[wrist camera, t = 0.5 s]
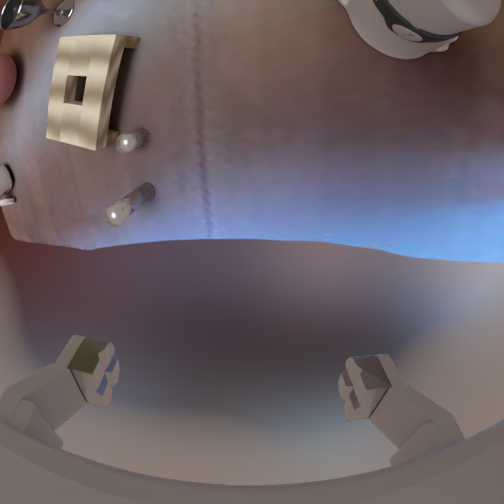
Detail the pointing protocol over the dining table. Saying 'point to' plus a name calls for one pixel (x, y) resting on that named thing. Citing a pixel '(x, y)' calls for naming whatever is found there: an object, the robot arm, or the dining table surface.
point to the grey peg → (128, 204)
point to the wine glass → (33, 13)
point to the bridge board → (96, 89)
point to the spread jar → (5, 184)
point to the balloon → (7, 77)
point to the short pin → (131, 140)
